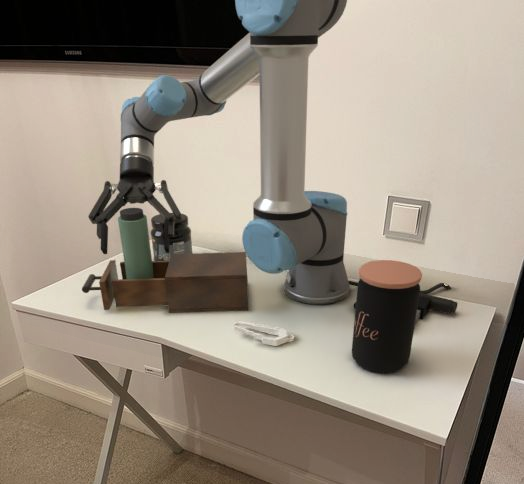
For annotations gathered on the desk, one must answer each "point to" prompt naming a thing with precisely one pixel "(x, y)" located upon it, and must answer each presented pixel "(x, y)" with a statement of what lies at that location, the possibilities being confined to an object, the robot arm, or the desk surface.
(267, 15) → the robot arm
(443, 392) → the desk surface
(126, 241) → the bottle
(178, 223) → the supplement container
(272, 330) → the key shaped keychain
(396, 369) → the coffee jar
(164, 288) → the drawer
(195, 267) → the cabinet
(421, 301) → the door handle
